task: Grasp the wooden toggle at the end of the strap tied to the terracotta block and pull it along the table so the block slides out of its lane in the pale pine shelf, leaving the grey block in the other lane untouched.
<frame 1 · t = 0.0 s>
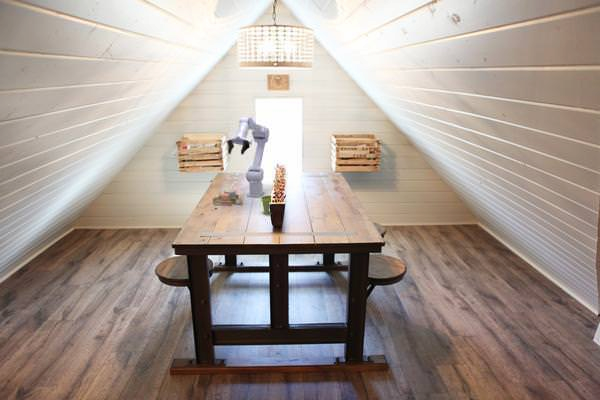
hand: (235, 153, 250), 32 cm above the table, tool tilted 50°, fingers open, 7 cm apart
lane shelf: (228, 201, 273), on the table
plant pot: (269, 212, 252), on the table
tethered block: (226, 203, 269), on the table
grey block: (231, 200, 276), resting in lane shelf
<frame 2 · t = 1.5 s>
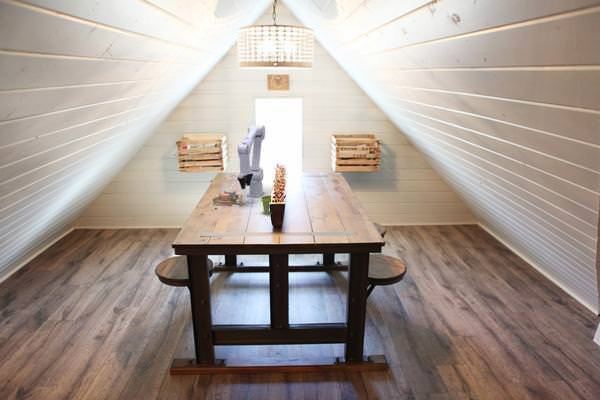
hand: (245, 187, 266), 10 cm above the table, tool pointing down, fingers open, 7 cm apart
nothing on the table moved.
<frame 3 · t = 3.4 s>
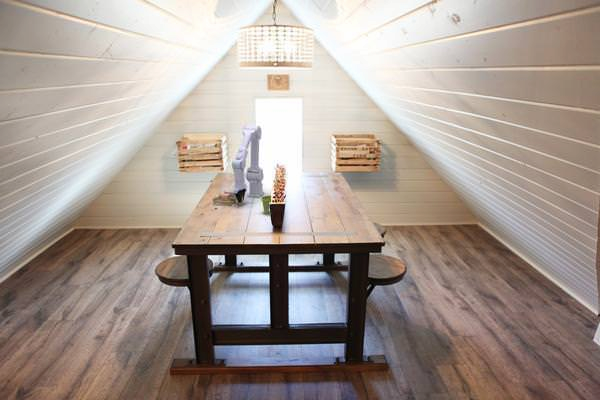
hand: (240, 201, 266), 2 cm above the table, tool pointing down, fingers closed on tethered block, 2 cm apart
tethered block: (226, 203, 269), on the table, touching gripper
everything else where it was.
when the fingers open (2 cm above the table, at t = 6.2 s): tethered block stays where it is, on the table.
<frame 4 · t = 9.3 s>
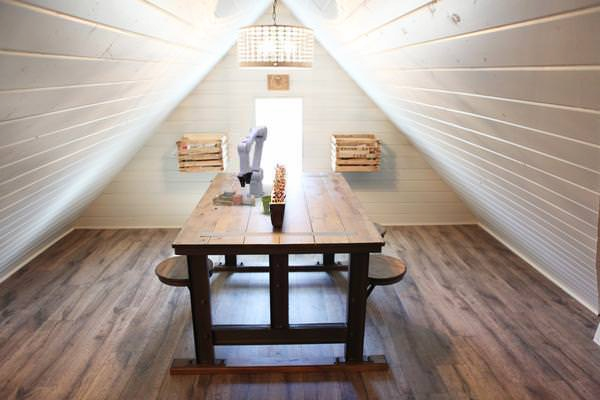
hand: (245, 185, 268), 10 cm above the table, tool pointing down, fingers open, 7 cm apart
tethered block: (237, 204, 267), on the table
everything else where it was.
at the end: tethered block inside the target area (3.1 cm from its centre), on the table; tethered block tilted 0°; the gripper is holding nothing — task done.
